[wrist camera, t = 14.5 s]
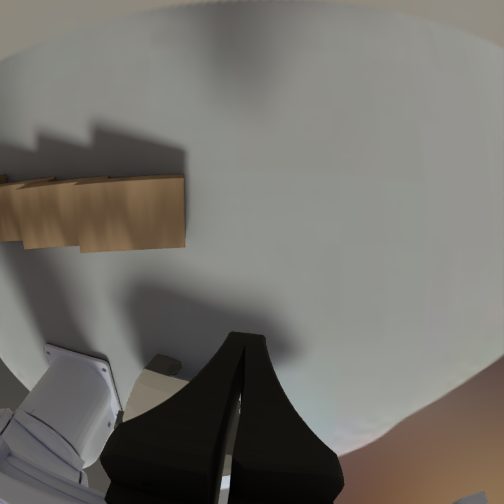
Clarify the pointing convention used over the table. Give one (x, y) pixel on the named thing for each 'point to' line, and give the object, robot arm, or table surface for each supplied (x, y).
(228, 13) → the table surface
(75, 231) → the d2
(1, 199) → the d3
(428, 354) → the table surface
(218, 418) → the robot arm
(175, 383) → the giant panda
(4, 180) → the d4
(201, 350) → the table surface
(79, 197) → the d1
